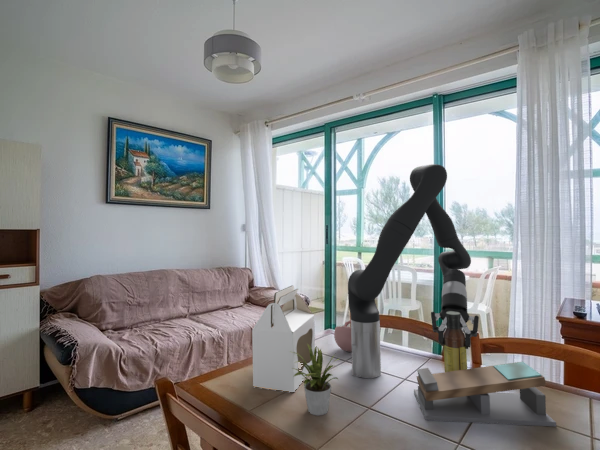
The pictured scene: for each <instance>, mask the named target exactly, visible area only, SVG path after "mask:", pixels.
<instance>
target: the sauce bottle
mask: <svg viewBox="0 0 600 450" xmlns="http://www.w3.org/2000/svg"><path fill="white" fill-rule="evenodd" d="M446 318H447V328H446V330H445V332H444V340H443V343H444V346H443V359H444V362H443V363H444V372H450V371H457V370H465V369H468V361H467V360H468V359H467V357H468V356H467V355H468V354H467V349H466V345H465V334H464V332H463V331H462V329H461V326H460V318H461V315H460V313H459V312H454V311H449V312H446Z"/></svg>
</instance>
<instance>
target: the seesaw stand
mask: <svg viewBox="0 0 600 450" xmlns="http://www.w3.org/2000/svg"><path fill="white" fill-rule="evenodd" d="M413 393H414V396H415V398H416V401H417V402H418V405H419V408H420V410H421V412H422V415H423V417H424V419H425V421H434V422H435V421H438V422H439V421H441V422H456V423H457V422H459V423H460V422H461V423H474V424H475V423H476V424H477V423H478V424H479V423H481V424H497V425H498V424H500V425H518V426H520V425H521V426H534V427H535V426H537V427H538V426H539V427H557V422H556V420H554V419H553V418H552V417H551V416H550V415H549V414H548V413H547V408H546V406H547V404H546V394H544V392H542V391H541V390H539V389H538V387H533V388H525V389H519V392H517V393H516V392H514V393H513V392H494V393H486V394H479V395H471V396H463V397H455V398H448V399H440V400H432V401H426V399H425V397H424V395H423V393H422V391H421V389H420V387H419V385H417V389H413Z"/></svg>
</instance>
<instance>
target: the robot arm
mask: <svg viewBox="0 0 600 450" xmlns="http://www.w3.org/2000/svg"><path fill="white" fill-rule="evenodd" d="M447 180H448V173H447V169H446V167H444V166H443V165H441V164H438V163H437V164H436V163H431V164H425V165H420V166H416V167H415V168H414V169H412V170H411V171H410V175H409V181H410V182H409V184H410V185H411V188H412V190H413V193H412V195H411V196H410V197H409V198H408V199H407V200H406V201H405V202H404V203H403V204H402V205H400V207H397V209H395V211H393V213H391V215H390V216H389V217H388V220H387V221H386V223H385V224H384V225H383V227H382V230H381V231H380V234H379V236H378V239H377V240H378V241H377V244H376V248H375V251H374V255H373V257H372V258H371V259H370V261H369V262H368V264H367V265H366V267H365V268H364V269H357V270H355V271H353V272H352V273H351V274H350V275H349V278H348V281H347V296H348V299H347V300H348V310H349V312H350V320H351V323H350V327H351V339H352V340H351V345H352V352H351V372H352V376H355V377H359V378H364V379H372V378H373V379H374V378H378V377H379V376H381V374H382V364H381V363H382V362H381V360H382V358H381V325H380V323H381V322H380V312H379V309H378V306H377V303H376V298H378V297H379V295H380V294H381V292H382V291H383V289H384V287H385V284H386V282H387V280H388V278H389V276H390V274H391V271H392V270H393V267H394V266H395V264H396V262H397V261H398V260H399V257H400V256H401V254H402V252H403V251H404V249H405V248H406V246H407V244H408V243H409V241H410V239H412V236H413V234H414V233H415V231H416V229H417V227H418V226H419V224H420V223H421V220H422V219H423V217H425V214H426V217H427V218H428V221H429V224H430V225H431V228H432V231H433V234H434V238H435V240H436V243H437V245H438V246H439V248H443V249H451V250H447V251H442V252H441V253H440V254H439V255H438V257H437V261H438V264H439V267H440V270H441V275H442V290H441V310H440V312H438V313H437V312H434V311H431V312H430V316H431V318H430V319H431V326H432V332H433V333H437V335H438V337H437V340H438V344H440V346H441V347H444V343H443V340H444V332H445V330H446V328H447V318H446V312H449V311H454V312H459V313H460V315H461V318H460V326H461V329H462V331H463V333H464V334H465V345H466V350H469V348H471V345H472V342H471V341H472V340H471V338H472V337H473V338H474V337H475V338H476V337H477V336H478V331H479V321H480V317H479V315H476V314H475V315H470V314H469V313H468V292H467V288H466V286H467V284H466V279H467V278H466V275H465V273H464V272H463V271H462V270H465V269H466V270H467V269H468V268H469V267H470V266H471V263H472V259H471V256H470V253H469V252H468V250H467V249H466V248H465V246H464V245H463V244H462V242H461V241H460V238H459V236H458V233H457V230H456V227H455V225H454V223H453V220H452V218H451V216H450V215H449V214H448V213H447V211H446V210H445V209H444V207H442V205H441V204H440V202H439V200H438V198H437V197H438V196H439V195H440V193H441V191H442V190H443V189H444V188H445V185H446V183H447ZM439 318H440V319H441V320H442V322H441V324H440V325H439V326H437V321H438V320H439ZM469 321H470V323H471V324H472V329H471V330H470V329H469V327H468V325H467V323H468V322H469Z"/></svg>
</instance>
